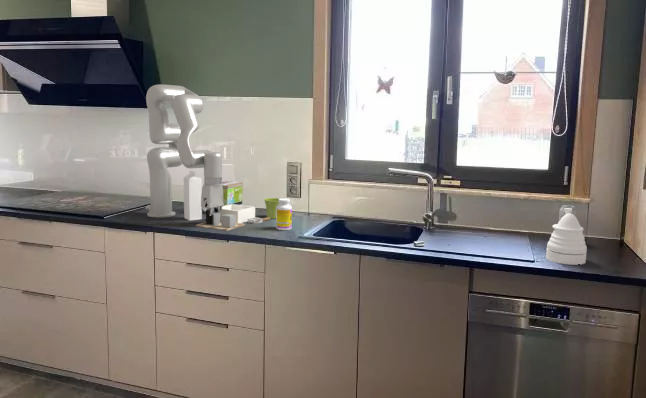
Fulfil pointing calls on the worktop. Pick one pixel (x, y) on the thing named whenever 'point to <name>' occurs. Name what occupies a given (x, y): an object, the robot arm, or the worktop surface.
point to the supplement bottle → (284, 215)
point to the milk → (192, 197)
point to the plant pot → (271, 207)
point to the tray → (220, 226)
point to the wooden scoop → (257, 220)
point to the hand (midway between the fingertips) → (212, 222)
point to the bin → (239, 212)
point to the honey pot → (567, 241)
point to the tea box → (232, 193)
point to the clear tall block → (562, 212)
